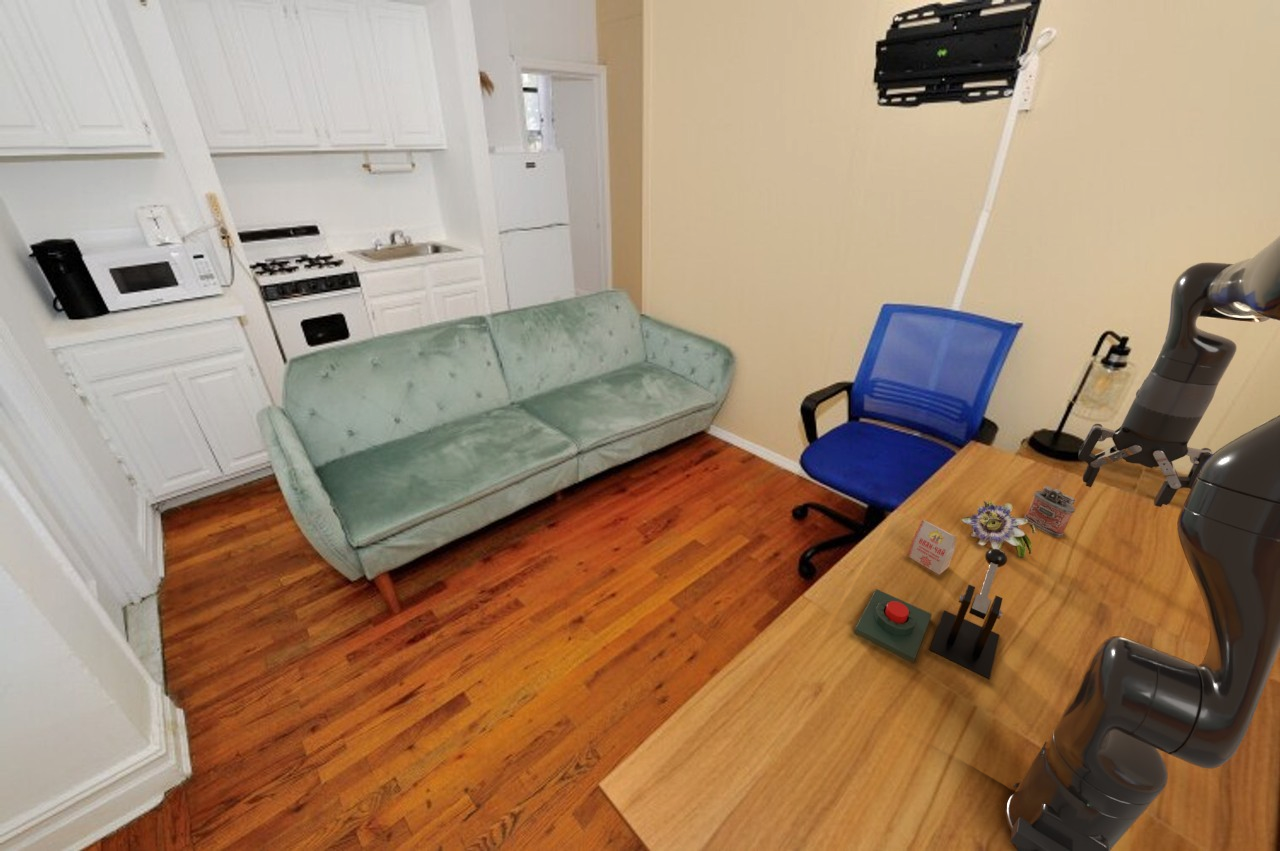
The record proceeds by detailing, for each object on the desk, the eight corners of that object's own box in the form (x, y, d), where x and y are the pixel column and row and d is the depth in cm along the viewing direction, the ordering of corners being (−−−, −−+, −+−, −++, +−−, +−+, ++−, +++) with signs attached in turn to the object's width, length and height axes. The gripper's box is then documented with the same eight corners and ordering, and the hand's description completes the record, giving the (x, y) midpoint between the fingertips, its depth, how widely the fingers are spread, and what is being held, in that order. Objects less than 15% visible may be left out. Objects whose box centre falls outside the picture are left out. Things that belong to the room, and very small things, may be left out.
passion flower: (974, 564, 115) (950, 518, 114) (998, 538, 119) (976, 494, 119) (1027, 569, 104) (1002, 519, 104) (1051, 541, 109) (1027, 492, 108)
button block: (911, 666, 86) (917, 651, 84) (853, 636, 92) (857, 621, 90) (929, 622, 94) (934, 607, 93) (873, 596, 100) (878, 581, 98)
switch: (986, 550, 92) (990, 542, 90) (1007, 558, 90) (1011, 550, 88) (965, 612, 86) (968, 605, 84) (986, 621, 85) (990, 614, 82)
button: (903, 626, 89) (905, 620, 88) (882, 616, 91) (884, 610, 91) (909, 614, 92) (911, 607, 91) (888, 604, 94) (890, 597, 93)
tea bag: (916, 552, 111) (927, 516, 106) (947, 570, 106) (960, 533, 101) (906, 559, 109) (917, 522, 104) (938, 577, 104) (951, 540, 99)
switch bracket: (942, 614, 96) (959, 568, 90) (997, 639, 91) (1019, 591, 85) (928, 653, 89) (945, 606, 83) (987, 683, 83) (1010, 634, 78)
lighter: (1020, 518, 120) (1035, 484, 116) (1029, 514, 121) (1044, 480, 117) (1057, 539, 114) (1074, 503, 109) (1066, 534, 115) (1083, 499, 110)
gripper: (1106, 400, 76) (1065, 488, 83) (1243, 427, 68) (1184, 523, 75) (1106, 384, 81) (1068, 469, 88) (1234, 408, 73) (1180, 499, 80)
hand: (1121, 494), depth 82 cm, fingers open, 8 cm apart
